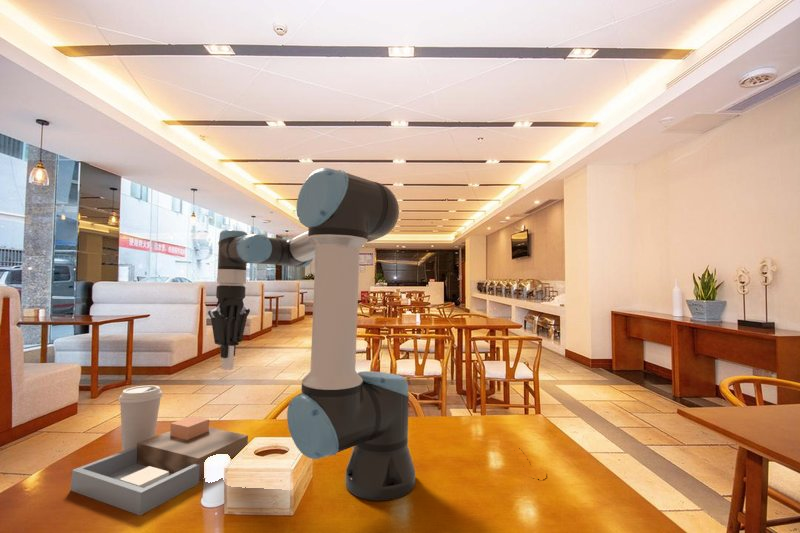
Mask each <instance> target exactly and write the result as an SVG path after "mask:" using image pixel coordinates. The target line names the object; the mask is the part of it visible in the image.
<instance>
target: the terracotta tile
mask: <svg viewBox="0 0 800 533" xmlns="http://www.w3.org/2000/svg"><path fill="white" fill-rule="evenodd" d="M209 427H210V418H206V417H200V416H195V415H192V416H189V417H186V418H182V419H180V420H177V421H176V420H175V421H174V422H170V430H169V431H170V436H173V437H177V438H182V439H186V440H188V439H191V438H193V437H196V436H198V435H201V434H203V433H206V432H208V431H209Z"/></svg>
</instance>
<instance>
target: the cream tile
mask: <svg viewBox="0 0 800 533" xmlns="http://www.w3.org/2000/svg"><path fill="white" fill-rule="evenodd" d="M168 476H169V472H168V471H165V470H162V469H158V468H155V467H151V466H149V467H146V468H144V469H142V470H139V471H137V472H135V473H132V474H130V475H128V476H125V477H123V478H121V479H119V480H120V481H123V482H126V483H129V484H132V485H135V486H139V487H142V488H145V487H147V486H149V485H151V484H153V483H155V482H157V481H159V480H161V479H164V478H166V477H168Z"/></svg>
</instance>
